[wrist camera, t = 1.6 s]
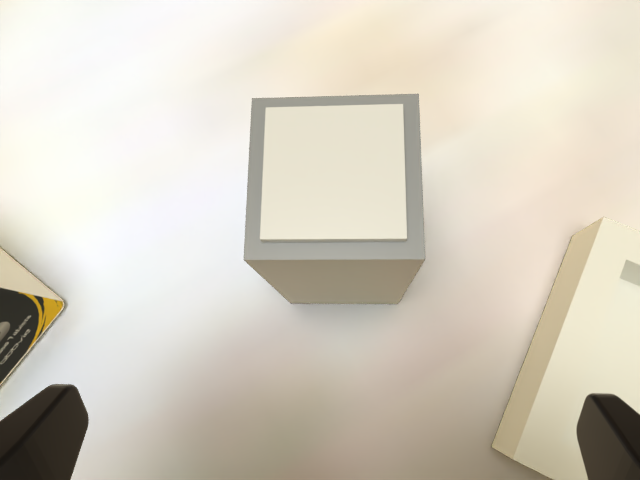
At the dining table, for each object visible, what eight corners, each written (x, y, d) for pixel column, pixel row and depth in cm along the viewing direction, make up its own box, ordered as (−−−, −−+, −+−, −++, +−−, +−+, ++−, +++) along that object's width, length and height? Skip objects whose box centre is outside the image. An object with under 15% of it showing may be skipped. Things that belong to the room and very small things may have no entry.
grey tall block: (397, 304, 21) (426, 257, 12) (290, 303, 21) (241, 257, 12) (395, 201, 22) (420, 88, 13) (293, 202, 22) (249, 92, 13)
